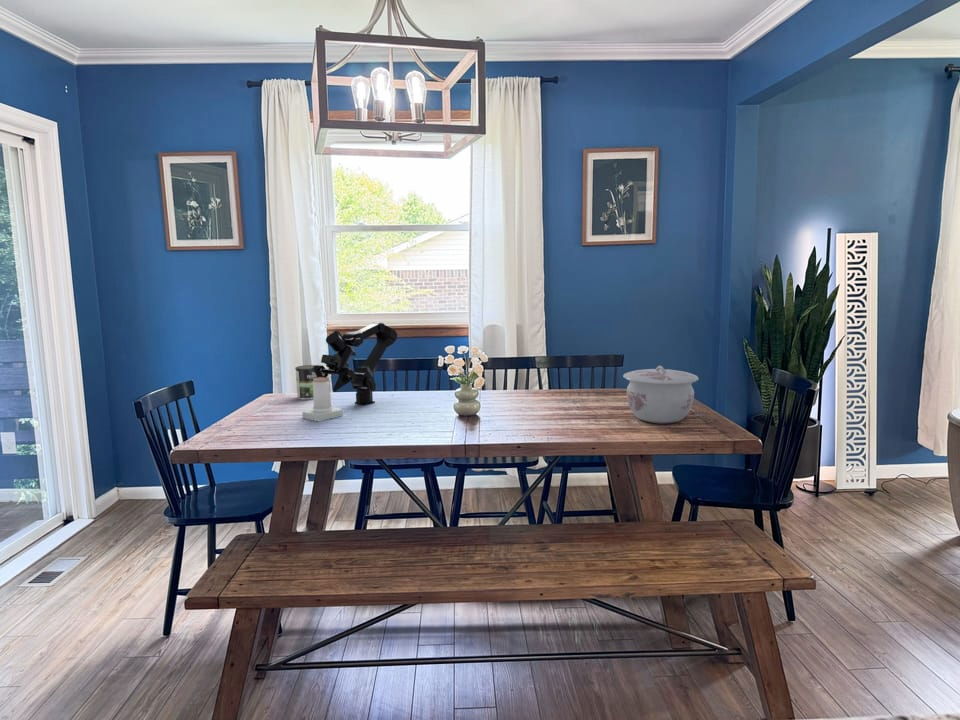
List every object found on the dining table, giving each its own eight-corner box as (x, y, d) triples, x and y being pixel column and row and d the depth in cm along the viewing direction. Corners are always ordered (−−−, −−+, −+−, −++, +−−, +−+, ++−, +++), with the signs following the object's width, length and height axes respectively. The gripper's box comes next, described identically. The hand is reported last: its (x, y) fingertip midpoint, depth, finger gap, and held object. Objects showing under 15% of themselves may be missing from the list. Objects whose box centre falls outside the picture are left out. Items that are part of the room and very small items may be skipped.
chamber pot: (675, 433, 222) (677, 374, 218) (608, 420, 240) (609, 366, 237) (710, 418, 241) (712, 364, 238) (645, 407, 260) (646, 357, 257)
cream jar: (317, 408, 256) (315, 376, 254) (335, 408, 255) (333, 376, 253) (310, 412, 249) (308, 380, 247) (328, 413, 248) (326, 380, 246)
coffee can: (325, 396, 290) (323, 366, 288) (306, 400, 282) (305, 369, 279) (310, 394, 296) (309, 364, 294) (292, 398, 288) (290, 367, 286)
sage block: (327, 412, 260) (327, 406, 259) (343, 415, 253) (342, 409, 253) (302, 417, 251) (302, 411, 250) (317, 421, 244) (317, 415, 244)
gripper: (313, 345, 258) (296, 376, 251) (350, 347, 250) (332, 380, 242) (328, 361, 267) (311, 392, 259) (363, 364, 258) (347, 396, 250)
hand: (325, 390), depth 252 cm, fingers open, 9 cm apart
